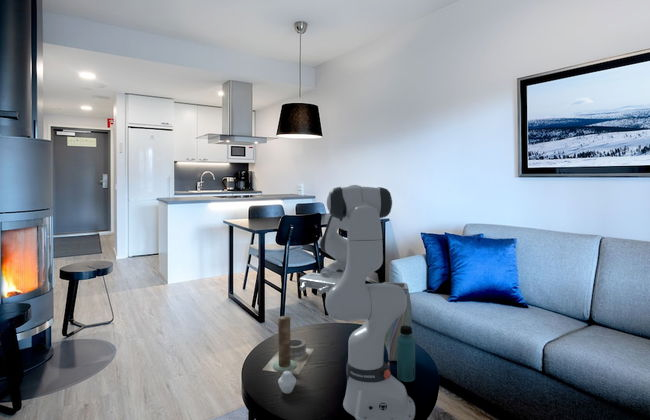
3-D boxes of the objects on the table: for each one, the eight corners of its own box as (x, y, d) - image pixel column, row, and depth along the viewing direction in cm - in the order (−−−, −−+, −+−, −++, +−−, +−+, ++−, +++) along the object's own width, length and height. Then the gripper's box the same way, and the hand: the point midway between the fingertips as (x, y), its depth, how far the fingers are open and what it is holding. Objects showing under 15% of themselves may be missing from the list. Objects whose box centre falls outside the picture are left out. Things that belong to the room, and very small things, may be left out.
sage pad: (299, 361, 146) (299, 360, 146) (292, 372, 138) (292, 371, 138) (277, 359, 149) (277, 358, 148) (269, 370, 140) (269, 368, 140)
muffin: (289, 384, 133) (288, 365, 132) (300, 391, 128) (299, 371, 128) (274, 390, 128) (274, 370, 128) (285, 398, 124) (285, 377, 123)
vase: (413, 366, 146) (414, 290, 144) (378, 364, 147) (378, 289, 145) (409, 351, 159) (410, 281, 157) (377, 349, 161) (378, 280, 159)
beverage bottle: (415, 387, 131) (416, 331, 129) (396, 385, 132) (396, 329, 131) (414, 378, 137) (415, 324, 136) (396, 376, 138) (397, 322, 137)
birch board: (314, 352, 158) (314, 339, 158) (298, 378, 137) (298, 363, 136) (282, 349, 161) (282, 336, 161) (262, 373, 140) (262, 359, 140)
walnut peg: (292, 362, 145) (291, 316, 144) (288, 368, 140) (287, 320, 139) (281, 361, 146) (280, 315, 145) (276, 366, 141) (276, 319, 140)
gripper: (310, 267, 165) (289, 280, 154) (349, 271, 152) (328, 286, 142) (313, 280, 166) (292, 294, 156) (351, 286, 154) (331, 301, 143)
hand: (310, 290), depth 149 cm, fingers open, 8 cm apart
